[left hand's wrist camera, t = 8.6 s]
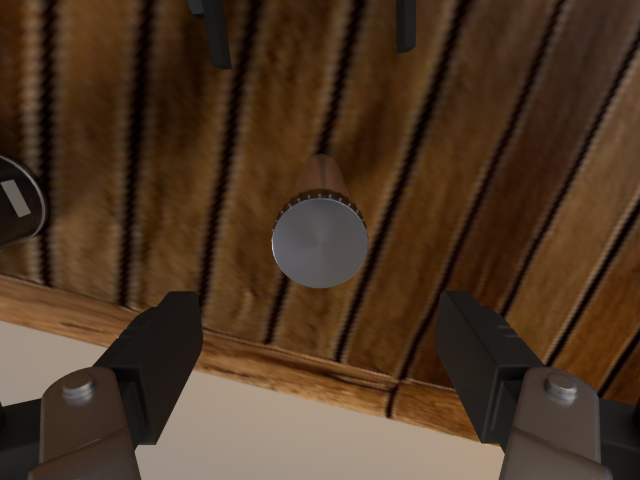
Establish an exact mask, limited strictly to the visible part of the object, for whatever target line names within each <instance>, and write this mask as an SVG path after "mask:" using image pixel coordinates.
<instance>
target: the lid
mask: <svg viewBox="0 0 640 480" xmlns="http://www.w3.org/2000/svg"><path fill="white" fill-rule="evenodd" d="M366 230H367V227H366V224H365V221H364V219H363V216H362V214H361V211H358V209H357V206H356V204H355V203H352V202H351V201H350V200H349V197H348V196H347V197H345V196H344V195H342V194H341V193H340V192H339V191H338V192H335V191H332V190H331V189H321V188H318V189H313V190H311V189H308V191H305V192H302V193H301V192H299V194H298V195H297V196H295V197H294V198H293V197H291V198H290V201H289V202H288V203H287V204H284V206H283V208H282V211H281V212H279V214H278V216H277V219H276V222H275V225H274V227H273V230H272V231H273V236H272V239H271V241H272V250H273V255H274V257H275V260H276V262H277V264H278V266H279V267H280V269H281V270H282V271H283V272H284V273H285V274H286V275H287V276H288V277H289V278H290V279H292V280H293V281H295V282H297V283H299V284H301V285H304V286H308V287H312V288H327V287H332V286H336V285H339V284H341V283H343V282H345V281H347V280H348V279H350V278H351V277H352V276H353V275H354V274H355V273H356V272H357V271H358V270H359V269H360V267H361V266H362V264H363V262H364V260H365V258H366V255H367V250H368V240H369V238H368V235H367V231H366Z"/></svg>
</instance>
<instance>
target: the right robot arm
mask: <svg viewBox="0 0 640 480" xmlns="http://www.w3.org/2000/svg"><path fill="white" fill-rule="evenodd" d="M187 2H188V7H189V9H190V11H191V12H192V14H193V15H194V16H195V17H197V18H198V19H205V23H206V29H207V35H208V41H209V47H210V53H211V59H212V65H213V66H215V67H217V68H220V69H222V70H223V69H232V66H231V59H230V53H229V46H228V40H227V33H226V27H225V20H224V14H223V7H222V1H221V0H187ZM396 6H397V53H405V52H408V51H410V50H411V49H413V48H414V47H415V44H416V0H396Z"/></svg>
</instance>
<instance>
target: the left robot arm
mask: <svg viewBox="0 0 640 480" xmlns="http://www.w3.org/2000/svg"><path fill="white" fill-rule="evenodd" d="M48 216H49V203H48V199H47V195H46V192H45V190H44V188H43V186H42V185H41V183H40V181H39V180H38V179H37V177H36V176H35V175H34V174H33V173H32V172H31V171H30V170H29V169H28V168H27V167H26V166H25V165H23V164H22V163H21V162H19V161H17V160H16V159H14V158H12V157H10V156H7V155H5V154H2V153H0V251H2V250H4V249H6V248H8V247H11V246H13V245H15V244H18V243H22V242H24V241H27V240H29V239H31V238H33V237H35V236H36V235H38V234H39V233H40V232H41V231H42V230H43V228H44V227H45V225H46V223H47V220H48ZM435 342H436V348H437V352H438V354H439V357H440V359H441V361H442V363H443V365H444V367H445V369H446V371H447V373H448V375H449V377H450V379H451V381H452V383H453V386H454V388H455V390H456V392H457V394H458V396H459V398H460V400H461V402H462V404H463V406H464V408H465V410H466V412H467V415H468V417H469V419H470V421H471V423H472V425H473V427H474V429H475V431H476V433H477V435H478V437H479V439H480V441H481V443H482V444H500V446H501V448H502V450H503V452H504V454H505V456H504V460H503V464H502V468H501V472H500V476H499V480H640V397H639V400H638V402H637V405H636V406H634V405H629V404H625V403H620V402H616V401H611V400H607V399H602V398H598V396H597V394H596V393H595V391H594V390H593V389H592V388H591V387H590V386H589V385H588V384H587V383H585V382H584V381H583V380H581V379H580V378H578V377H576V376H574V375H572V374H570V373H568V372H565V371H563V370H560V369H556V368H551V367H546V366H545V365H544V364H543V363H542V362H541V360H540V359H539V358H538V357H537V356H536V355H535V354H534V353H533V351H532V350H531V349H530V348H529V347H528V346H527V345H526V343H525V342H524V341H523V340H522V339H521V338H519V337H518V334H517V333H516V332H515V331H514V330H513V329H511V326H510V325H509V324H508V323H507V322H506V321H505V319H504V318H503V317H502V316H501V315H499V314H498V313H496V312H494V311H493V310H491V309H490V308H488V307H486V306H480V304H479V303H478V302H477V301H476V299H475V298H474V297H473V296H472V295H471V293H470V292H469V291H443V292H442V293H441V296H440V301H439V309H438V317H437V324H436V332H435ZM202 344H203V331H202V324H201V316H200V309H199V301H198V296H197V294H196V292H194V291H171V292H169V293H168V294H167V295H166V296H165V297H164V299H163V300H162V301H161V302H160V303H159V305H158V306H157V307H151V308H149V309H148V310H146V311H144V312H143V313H141V314H139V315H138V316H136V317H135V319H134V320H133V321H132V322H131V323H130V324H129V325H128V327H127V329H125V330H124V331H123V332H122V333H121V334H120V336H119V338H117V339H116V340H115V341H114V342H113V343H112V345H111V346H110V347H109V348H108V349H107V350H106V351H105V352H104V354H103V355H102V356H101V357H100V358H99V359H98V360H97V362H96V363H95V364H94V365H93V366H92V367H89V368H84V369H81V370H77V371H75V372H72V373H70V374H68V375H66V376H64V377H62V378H60V379H59V380H57V381H56V382H55V383H53V384H52V385H51V386H50V387H49V388H48V389H47V390H46V391H45V393H44V394H43V396H42V398H40V399H36V400H31V401H27V402H22V403H18V404H13V405H8V406H4V407H2V405H1V402H0V480H141V476H140V472H139V468H138V464H137V460H136V456H135V452H134V451H135V449H136V448H137V446H138V445H156V443H157V441H158V439H159V437H160V435H161V433H162V431H163V429H164V427H165V425H166V423H167V421H168V419H169V417H170V415H171V412H172V411H173V409H174V406H175V404H176V402H177V400H178V398H179V396H180V394H181V392H182V390H183V388H184V386H185V384H186V382H187V380H188V378H189V376H190V374H191V372H192V370H193V368H194V366H195V364H196V362H197V360H198V357H199V355H200V353H201V350H202Z"/></svg>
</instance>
